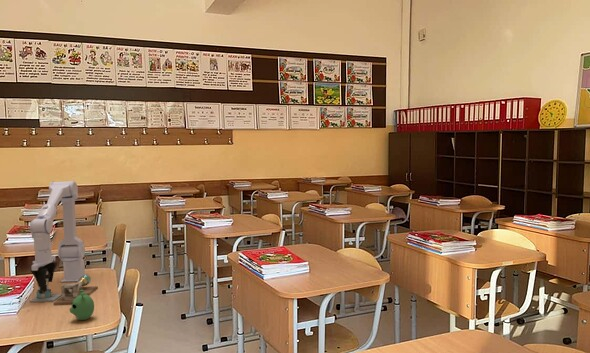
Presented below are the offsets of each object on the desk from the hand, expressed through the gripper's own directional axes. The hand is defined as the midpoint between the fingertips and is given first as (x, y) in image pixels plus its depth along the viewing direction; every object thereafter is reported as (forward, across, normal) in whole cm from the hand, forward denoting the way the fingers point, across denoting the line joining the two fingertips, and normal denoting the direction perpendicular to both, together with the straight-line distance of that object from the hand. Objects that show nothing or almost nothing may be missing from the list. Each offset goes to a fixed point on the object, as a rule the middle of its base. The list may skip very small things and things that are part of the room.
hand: (45, 284), depth 187 cm
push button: (+5, 0, 0) cm, 5 cm away
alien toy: (+6, +24, +24) cm, 34 cm away
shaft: (+4, -3, +11) cm, 12 cm away
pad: (+6, 0, 0) cm, 6 cm away
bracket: (+6, -2, +11) cm, 13 cm away
